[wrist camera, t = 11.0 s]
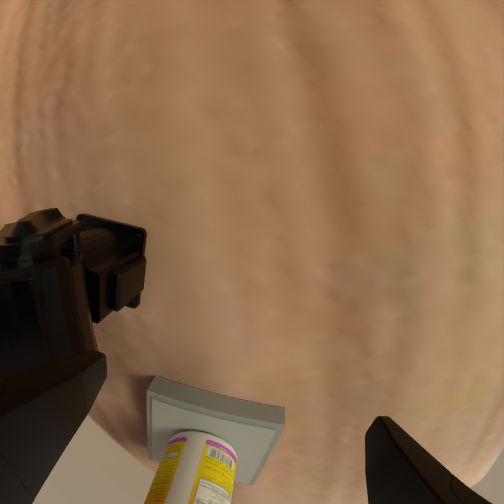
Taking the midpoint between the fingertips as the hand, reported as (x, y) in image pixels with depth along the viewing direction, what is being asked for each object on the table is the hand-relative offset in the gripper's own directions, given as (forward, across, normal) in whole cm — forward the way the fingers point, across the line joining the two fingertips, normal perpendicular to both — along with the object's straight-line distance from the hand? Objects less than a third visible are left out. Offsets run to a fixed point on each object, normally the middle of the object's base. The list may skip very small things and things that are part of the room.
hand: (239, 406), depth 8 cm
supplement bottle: (+11, +1, +18) cm, 21 cm away
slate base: (+13, +1, +18) cm, 22 cm away
